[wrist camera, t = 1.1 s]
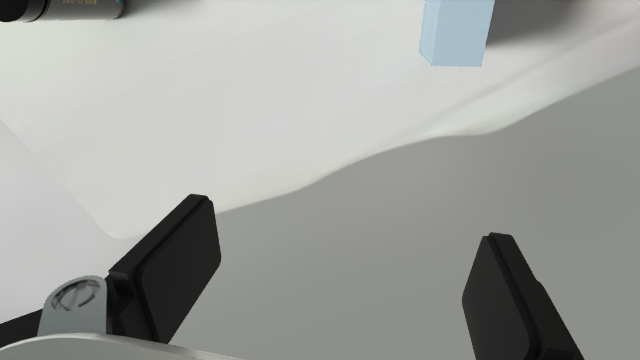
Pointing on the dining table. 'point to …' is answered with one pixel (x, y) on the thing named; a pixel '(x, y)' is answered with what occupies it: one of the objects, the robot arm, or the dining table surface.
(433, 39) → the door panel
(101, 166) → the dining table surface
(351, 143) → the dining table surface
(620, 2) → the dining table surface
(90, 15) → the supplement container
